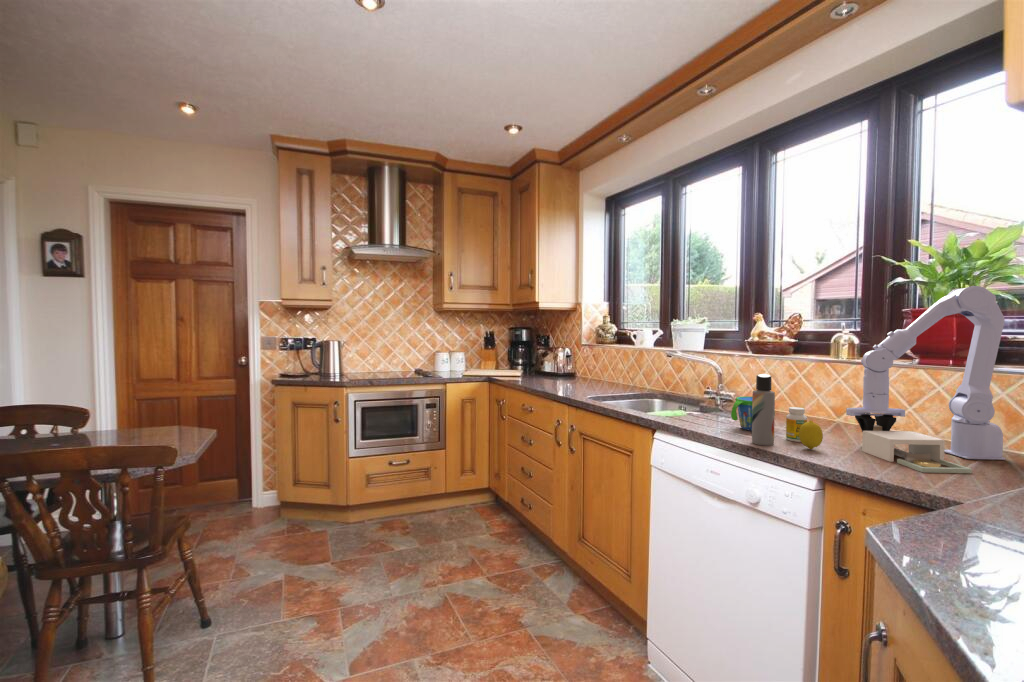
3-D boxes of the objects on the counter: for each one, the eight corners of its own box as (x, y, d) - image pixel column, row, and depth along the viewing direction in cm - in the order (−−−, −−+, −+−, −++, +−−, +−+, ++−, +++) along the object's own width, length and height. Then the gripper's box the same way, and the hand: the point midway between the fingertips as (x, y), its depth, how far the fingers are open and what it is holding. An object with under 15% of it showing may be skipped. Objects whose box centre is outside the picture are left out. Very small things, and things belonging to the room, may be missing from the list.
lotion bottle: (773, 442, 138) (774, 374, 137) (774, 446, 133) (776, 375, 132) (751, 440, 140) (752, 373, 140) (752, 444, 135) (753, 374, 134)
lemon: (826, 452, 127) (826, 423, 126) (803, 451, 128) (804, 422, 127) (817, 447, 132) (817, 419, 132) (795, 446, 133) (796, 418, 133)
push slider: (858, 444, 135) (859, 424, 135) (878, 445, 135) (879, 424, 134) (907, 462, 117) (907, 438, 117) (930, 462, 117) (930, 438, 117)
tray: (942, 463, 116) (942, 459, 116) (971, 473, 109) (971, 469, 109) (897, 462, 117) (897, 458, 117) (922, 472, 109) (922, 468, 109)
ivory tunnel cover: (912, 452, 127) (912, 431, 127) (944, 462, 117) (944, 440, 117) (862, 451, 128) (862, 430, 128) (889, 461, 118) (889, 439, 118)
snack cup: (741, 433, 150) (742, 401, 149) (721, 426, 160) (722, 396, 160) (785, 431, 152) (786, 400, 152) (763, 425, 162) (763, 395, 162)
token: (929, 464, 117) (929, 459, 117) (946, 470, 112) (946, 465, 112) (908, 463, 117) (908, 459, 117) (924, 469, 112) (924, 464, 112)
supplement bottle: (796, 437, 144) (797, 406, 144) (811, 441, 139) (812, 409, 138) (781, 438, 143) (782, 407, 142) (796, 442, 137) (796, 410, 137)
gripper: (892, 391, 136) (891, 438, 136) (839, 391, 136) (838, 437, 137) (911, 395, 129) (910, 444, 129) (856, 394, 129) (855, 443, 130)
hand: (874, 441), depth 132 cm, fingers closed on push slider, 3 cm apart
